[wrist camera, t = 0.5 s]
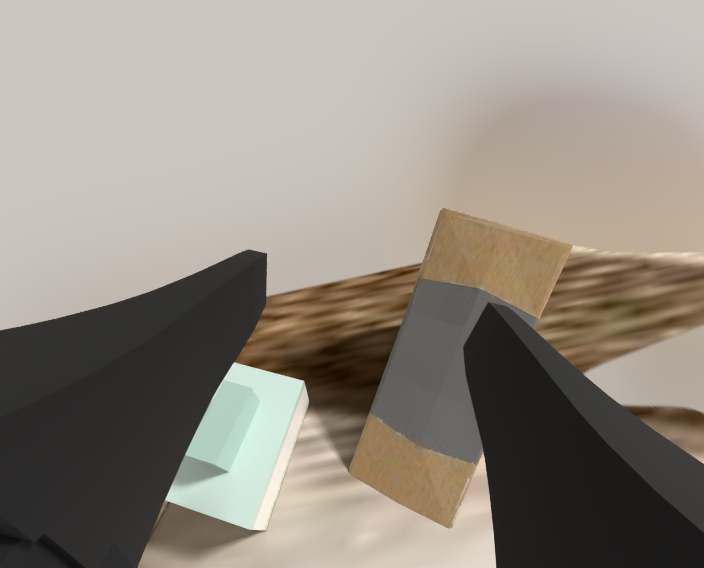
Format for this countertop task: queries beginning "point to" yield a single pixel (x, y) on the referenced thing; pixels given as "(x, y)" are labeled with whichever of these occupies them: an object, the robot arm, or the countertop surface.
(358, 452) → the sandwich container
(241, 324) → the robot arm
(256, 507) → the lid
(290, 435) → the tub
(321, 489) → the countertop surface
